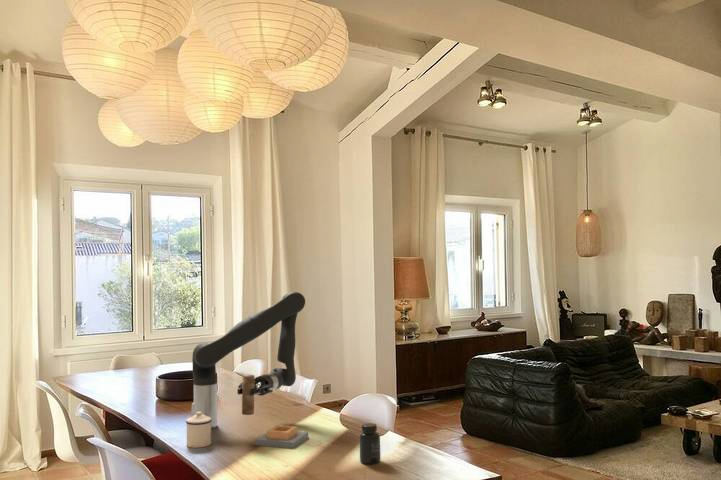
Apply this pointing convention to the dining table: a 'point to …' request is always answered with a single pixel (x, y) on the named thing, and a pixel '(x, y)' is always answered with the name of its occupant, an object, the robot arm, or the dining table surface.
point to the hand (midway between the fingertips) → (244, 392)
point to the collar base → (282, 437)
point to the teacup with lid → (198, 430)
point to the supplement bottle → (369, 444)
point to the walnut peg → (247, 395)
